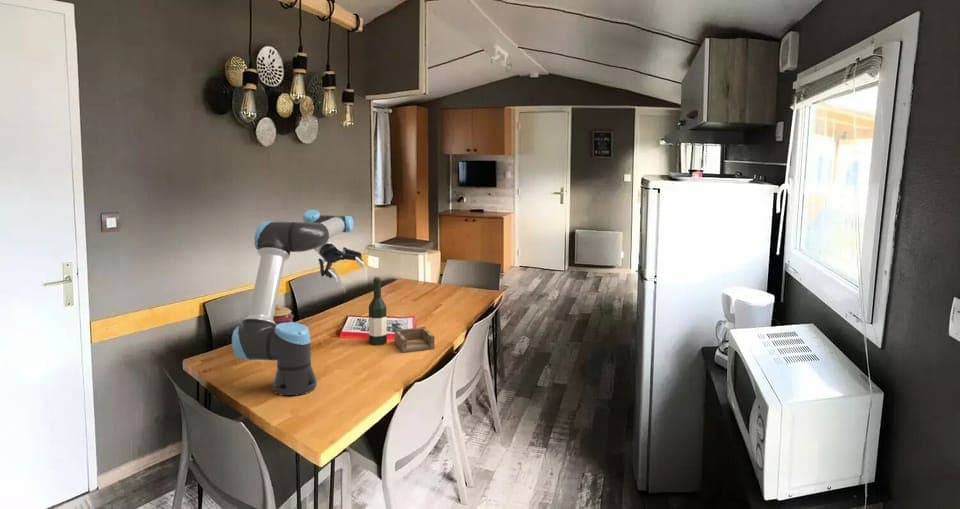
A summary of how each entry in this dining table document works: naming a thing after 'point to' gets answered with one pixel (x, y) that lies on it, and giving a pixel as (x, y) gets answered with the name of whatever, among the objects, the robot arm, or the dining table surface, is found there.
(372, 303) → the wine bottle
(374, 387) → the dining table surface
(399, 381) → the dining table surface
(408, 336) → the walnut rest
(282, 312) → the canister
